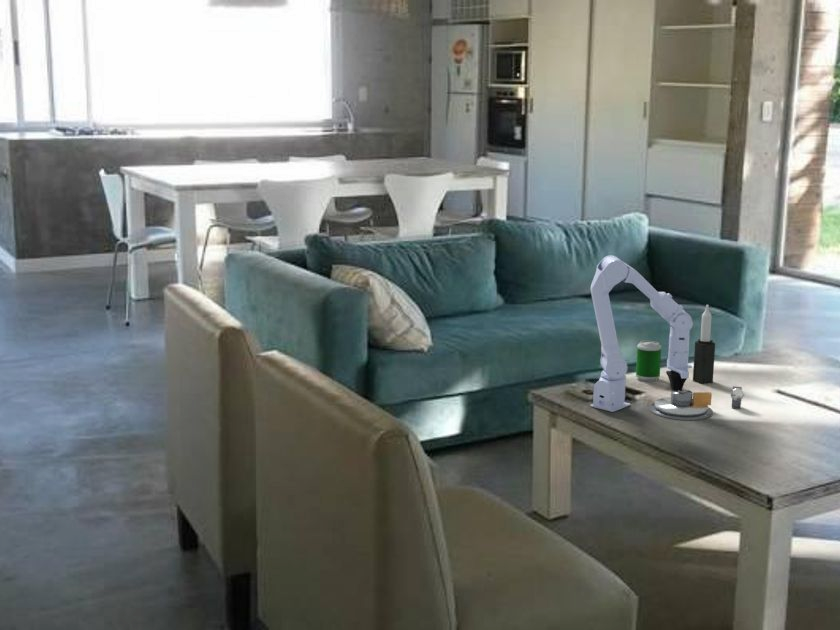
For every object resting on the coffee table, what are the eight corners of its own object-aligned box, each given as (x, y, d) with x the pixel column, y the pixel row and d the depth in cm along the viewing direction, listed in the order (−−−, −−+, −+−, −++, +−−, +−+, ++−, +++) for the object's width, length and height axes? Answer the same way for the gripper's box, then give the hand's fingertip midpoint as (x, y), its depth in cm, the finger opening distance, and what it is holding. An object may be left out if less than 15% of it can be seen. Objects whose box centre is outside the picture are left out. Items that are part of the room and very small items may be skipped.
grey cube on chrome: (742, 409, 307) (744, 389, 306) (729, 408, 308) (731, 388, 306) (742, 406, 310) (743, 386, 309) (729, 405, 311) (730, 385, 309)
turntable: (661, 416, 299) (662, 400, 298) (649, 401, 313) (650, 385, 312) (717, 416, 299) (718, 400, 298) (703, 400, 313) (703, 385, 312)
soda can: (661, 382, 335) (663, 345, 332) (638, 382, 335) (639, 345, 332) (657, 376, 342) (658, 340, 340) (633, 375, 342) (635, 339, 340)
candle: (691, 380, 337) (695, 303, 332) (703, 378, 339) (708, 302, 334) (701, 384, 333) (706, 306, 327) (714, 382, 335) (719, 305, 329)
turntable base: (692, 424, 294) (692, 423, 294) (637, 410, 306) (637, 409, 306) (724, 410, 306) (724, 409, 306) (670, 397, 319) (670, 396, 318)
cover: (673, 406, 304) (674, 393, 303) (668, 400, 309) (669, 387, 309) (694, 406, 304) (695, 393, 303) (688, 400, 310) (689, 387, 309)
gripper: (700, 356, 301) (697, 402, 304) (684, 344, 315) (681, 388, 318) (675, 357, 300) (673, 403, 303) (661, 344, 314) (658, 388, 317)
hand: (676, 395), depth 310 cm, fingers closed
